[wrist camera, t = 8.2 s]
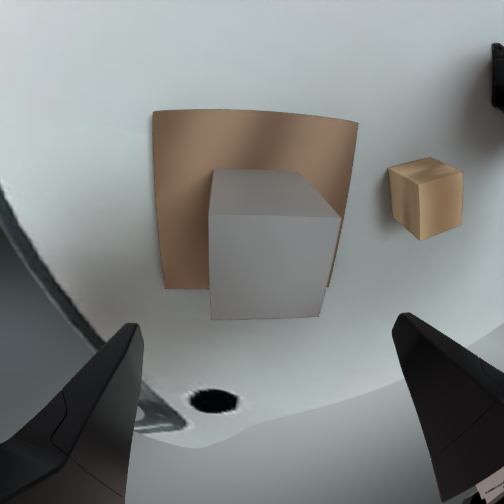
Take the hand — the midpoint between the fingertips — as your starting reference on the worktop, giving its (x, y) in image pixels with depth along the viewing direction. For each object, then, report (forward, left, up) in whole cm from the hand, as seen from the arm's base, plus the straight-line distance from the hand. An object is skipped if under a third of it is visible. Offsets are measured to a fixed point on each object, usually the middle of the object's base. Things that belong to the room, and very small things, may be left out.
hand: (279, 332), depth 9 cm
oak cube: (-12, -2, -12) cm, 17 cm away
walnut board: (0, 0, -11) cm, 11 cm away
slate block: (0, 0, -10) cm, 10 cm away
